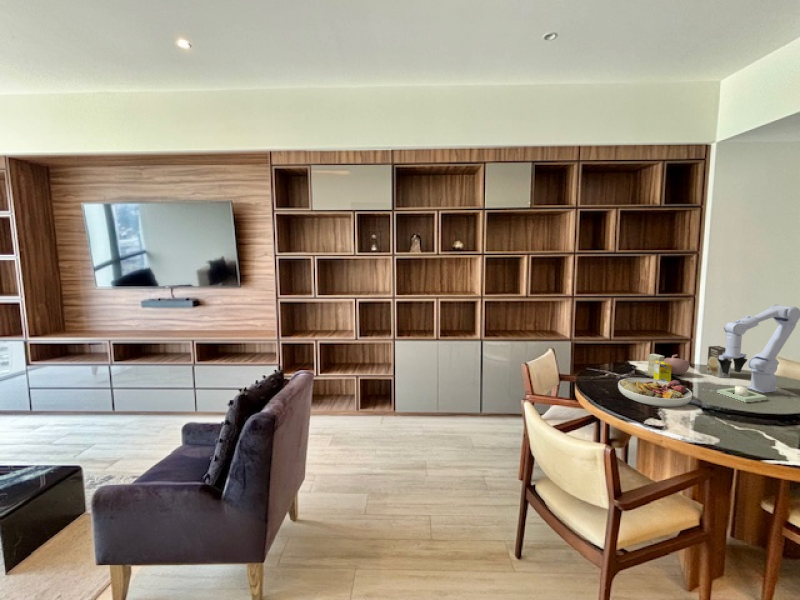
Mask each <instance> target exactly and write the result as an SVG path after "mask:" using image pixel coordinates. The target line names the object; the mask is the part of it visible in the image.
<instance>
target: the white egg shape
mask: <svg viewBox="0 0 800 600" xmlns="http://www.w3.org/2000/svg"><path fill="white" fill-rule="evenodd" d="M734 388H735V393H734V394H736V395H739V396H742V397H749V396H748V391H749V388H748V387H747V386H744V385H734Z"/></svg>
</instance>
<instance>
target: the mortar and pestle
mask: <svg viewBox="0 0 800 600" xmlns="http://www.w3.org/2000/svg"><path fill="white" fill-rule="evenodd" d="M676 357H679V355H678V354H673V355H671V357H666V358H665V357H664V362H668V363H669V364H671V365H672V366H671V375H672V374H673V375H677V376H679V375H683V374H686V373H687V372H688V370H689V369H690V361H688V360H685V359H683V358H676Z"/></svg>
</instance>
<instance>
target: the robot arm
mask: <svg viewBox="0 0 800 600" xmlns="http://www.w3.org/2000/svg"><path fill="white" fill-rule="evenodd" d="M771 319H773V320H774V321H775V322H776V323H777V325H778V326H777V328H776V329H775V331H774V332H773V334H772V335H771V337H769V340H768V342H767V343H766V345H765V346H764V348H763V349H762V351H760V352H758V353H755V354H754V355H753V357H751V358H750V359H747V353H743V352H741V351H742V342H743V341H742V340H743V335H744V334H745V333H746V332H747V331H748V330H750V329H753V328H755V327H758V326H759V323H761V322H764V321H767V320H771ZM799 320H800V308H799V307H796V306H788V305H780V304H773V305H771V306H768V309H766V310H763V311H761V312H760V313H757V314H755V315H754V316H753V315H745V316H744V317H743V318H740V319H737V320H735V321H734V322H733V321H729V322H727V323H725V325H724V326H723V331H724V332H725V336H726V338H725V348H726V350H725V353H723V355H719V358H718V361H719V363H720V365H721V368H722V372H723V373H726V374H728V372H729V367H730V365H732V363H733V364H734V367H733V368H734V372H736V373H741V372H742V369H743V366H744V365H745V364H746V362H747V361H748V362H747V366H748V368H749V369H750V371H751V376H750V385H748V386H746V387H748V390H749V389H750V390H751V391H752V390H753V391H756V392H760V393H763V394H764V393H765V394H766V393H772V392H773V393H774V392H778V389H777V379H778V378H777V376H776V375H775V373H776V372H777V370H778V366H779V364H780V361H779V360H778V359H777V356H778V355H779V354H780V352H781V350H782V348H783V347H784V346H785V344H786V342H787V341H788V340H789V338H790V336H791V335H792V333H793V331H794V330H795V328H796V326H797V323H798V322H799ZM728 359H731V361H729V360H728ZM732 360H733V361H732Z"/></svg>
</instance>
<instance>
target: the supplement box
mask: <svg viewBox="0 0 800 600" xmlns="http://www.w3.org/2000/svg"><path fill="white" fill-rule="evenodd" d="M671 366H672V365H671V364H669V363H668V362H660V361H655V362H654V376H653V379H656V380H662V381H667V382H671V381H672V373H671Z"/></svg>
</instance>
